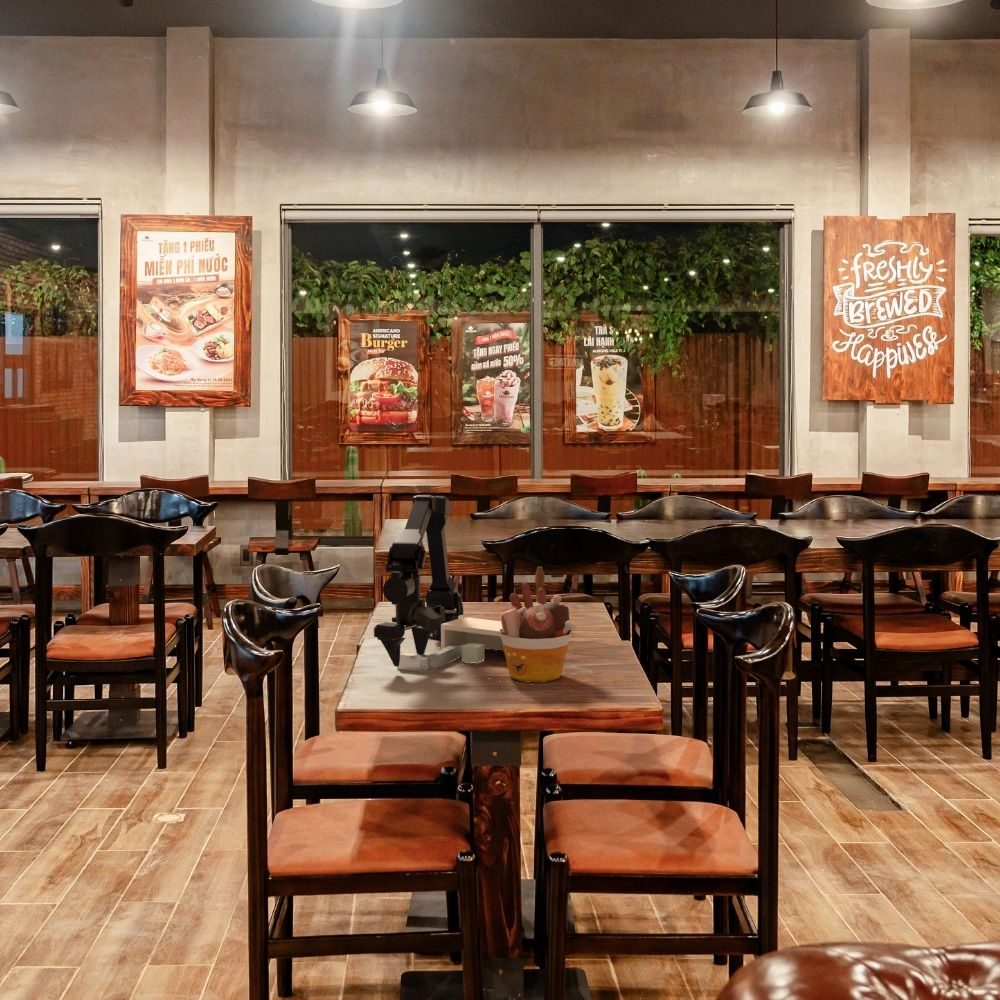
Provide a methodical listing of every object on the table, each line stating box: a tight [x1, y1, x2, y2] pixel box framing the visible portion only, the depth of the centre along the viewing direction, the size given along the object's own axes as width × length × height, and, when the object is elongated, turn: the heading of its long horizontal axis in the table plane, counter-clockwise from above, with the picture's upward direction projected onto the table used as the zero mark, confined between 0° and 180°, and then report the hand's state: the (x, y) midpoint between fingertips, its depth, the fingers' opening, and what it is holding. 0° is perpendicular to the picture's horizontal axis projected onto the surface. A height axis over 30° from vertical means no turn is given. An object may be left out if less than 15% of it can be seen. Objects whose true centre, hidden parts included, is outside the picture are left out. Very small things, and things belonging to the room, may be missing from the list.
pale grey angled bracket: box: [396, 643, 466, 673], centre depth 270 cm, size 13×18×4 cm
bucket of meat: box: [500, 582, 577, 682], centre depth 256 cm, size 20×16×20 cm
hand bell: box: [533, 566, 545, 607], centre depth 316 cm, size 8×8×16 cm
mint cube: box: [461, 643, 485, 664], centre depth 272 cm, size 4×4×4 cm
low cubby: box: [440, 616, 504, 651], centre depth 280 cm, size 20×10×7 cm, turn 58°
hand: (408, 662), depth 264 cm, fingers open, 9 cm apart
